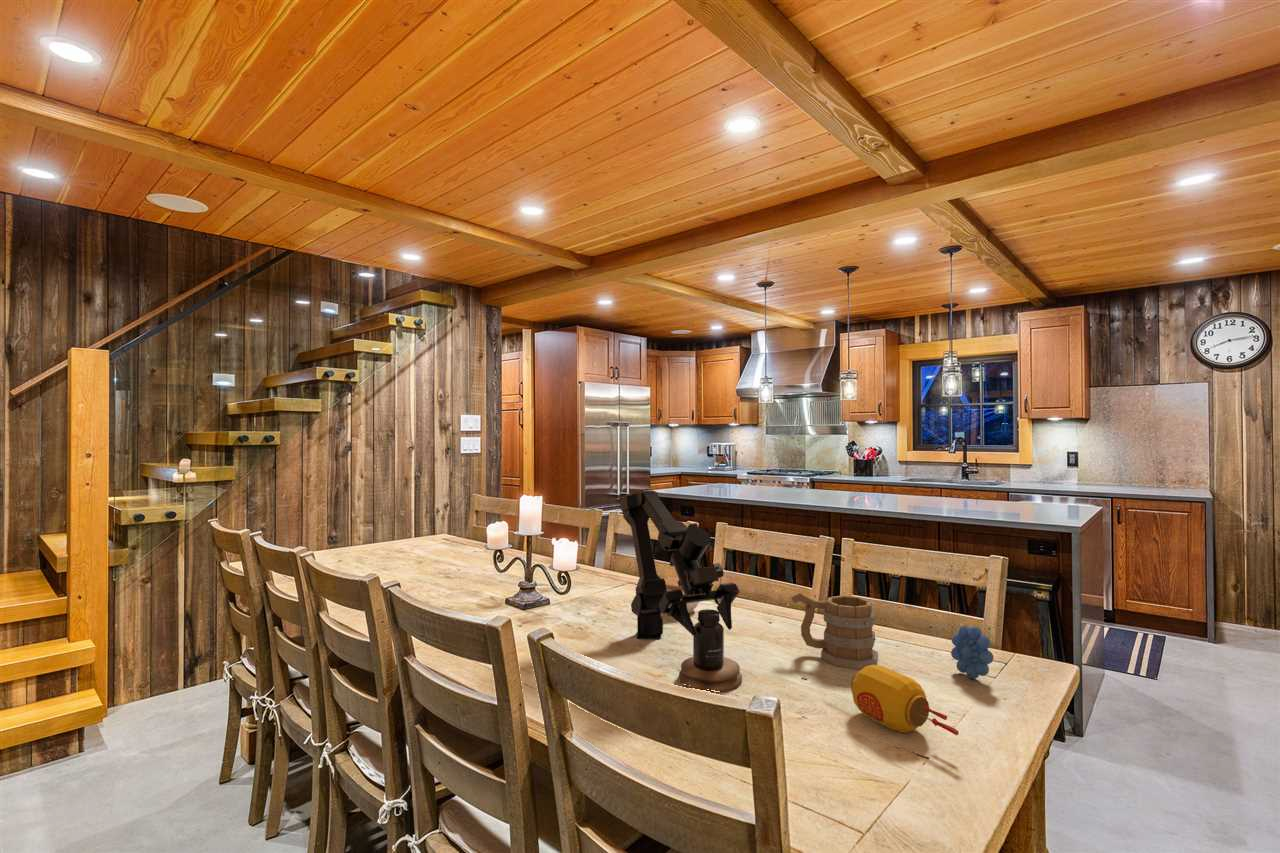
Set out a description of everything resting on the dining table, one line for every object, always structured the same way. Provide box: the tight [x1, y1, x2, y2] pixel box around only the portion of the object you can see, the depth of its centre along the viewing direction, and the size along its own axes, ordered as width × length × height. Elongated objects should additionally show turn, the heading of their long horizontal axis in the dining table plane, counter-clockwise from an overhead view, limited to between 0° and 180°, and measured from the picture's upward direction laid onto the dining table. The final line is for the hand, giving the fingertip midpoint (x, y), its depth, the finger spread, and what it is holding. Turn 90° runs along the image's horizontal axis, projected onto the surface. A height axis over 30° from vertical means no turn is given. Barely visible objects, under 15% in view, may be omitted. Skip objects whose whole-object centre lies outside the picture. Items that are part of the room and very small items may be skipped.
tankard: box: [791, 592, 879, 670], centre depth 150 cm, size 20×13×15 cm, turn 65°
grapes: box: [950, 624, 994, 680], centre depth 136 cm, size 12×7×12 cm, turn 13°
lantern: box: [829, 664, 960, 736], centre depth 116 cm, size 10×10×30 cm
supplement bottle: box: [692, 608, 725, 671], centre depth 137 cm, size 7×7×12 cm
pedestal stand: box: [678, 656, 743, 694], centre depth 137 cm, size 14×14×3 cm
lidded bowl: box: [663, 576, 700, 614], centre depth 189 cm, size 13×13×11 cm
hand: (712, 631), depth 136 cm, fingers open, 9 cm apart
